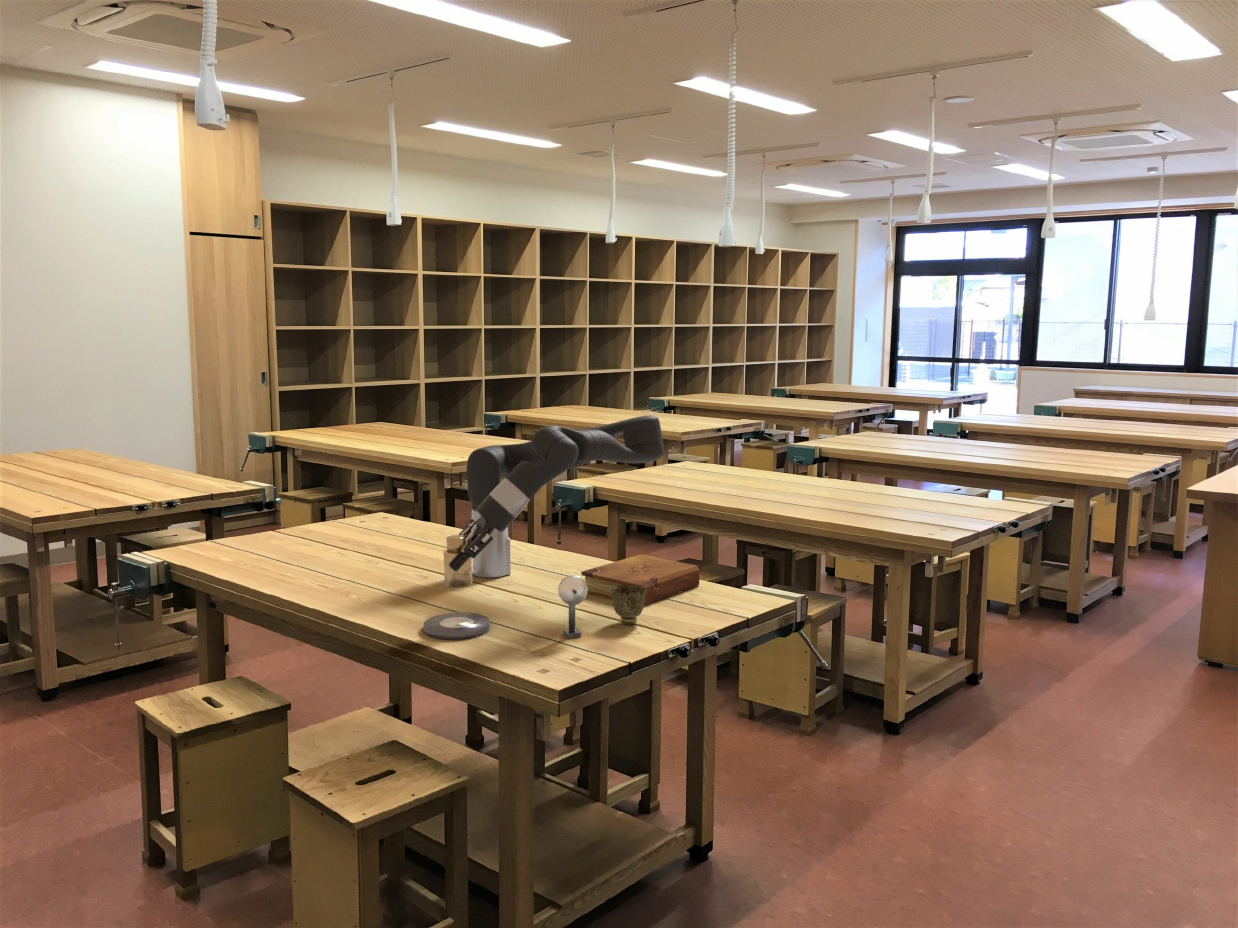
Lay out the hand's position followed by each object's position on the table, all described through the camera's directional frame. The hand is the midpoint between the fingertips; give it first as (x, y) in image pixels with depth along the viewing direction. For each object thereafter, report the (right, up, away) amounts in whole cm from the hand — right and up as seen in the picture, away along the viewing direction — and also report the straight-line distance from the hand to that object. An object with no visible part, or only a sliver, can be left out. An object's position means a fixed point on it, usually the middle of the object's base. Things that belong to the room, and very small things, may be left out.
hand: (449, 564), depth 199 cm
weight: (+2, -4, +1) cm, 5 cm away
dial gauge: (+26, -15, -1) cm, 30 cm away
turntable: (+1, -14, +3) cm, 14 cm away
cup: (+38, -14, +7) cm, 41 cm away
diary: (+41, -10, +34) cm, 54 cm away
